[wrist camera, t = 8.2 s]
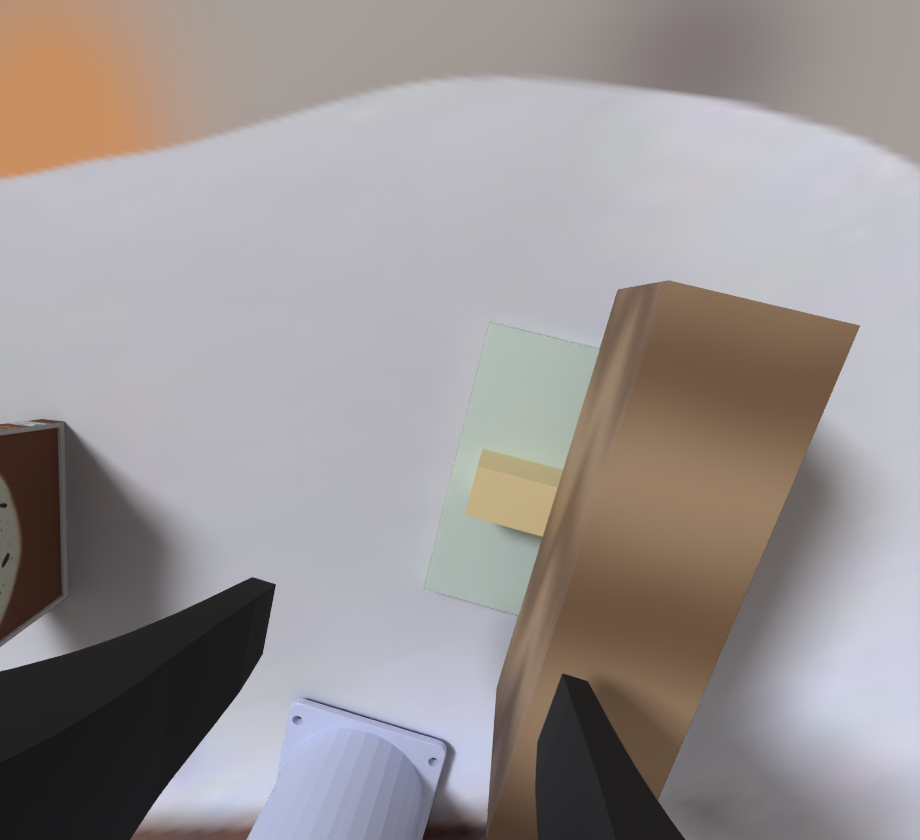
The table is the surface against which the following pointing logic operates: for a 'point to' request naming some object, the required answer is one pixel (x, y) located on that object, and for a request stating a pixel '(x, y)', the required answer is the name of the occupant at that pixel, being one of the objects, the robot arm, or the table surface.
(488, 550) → the ridge stand
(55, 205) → the table surface
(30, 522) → the food container
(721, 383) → the walnut bar
